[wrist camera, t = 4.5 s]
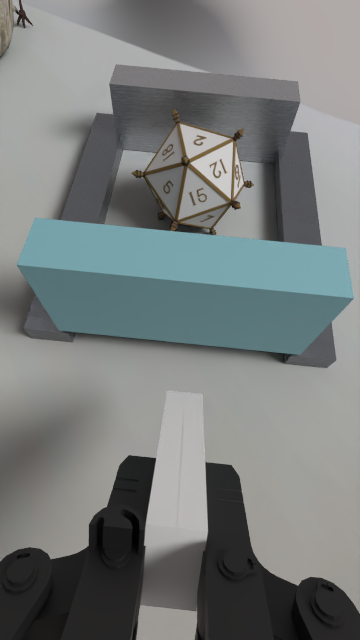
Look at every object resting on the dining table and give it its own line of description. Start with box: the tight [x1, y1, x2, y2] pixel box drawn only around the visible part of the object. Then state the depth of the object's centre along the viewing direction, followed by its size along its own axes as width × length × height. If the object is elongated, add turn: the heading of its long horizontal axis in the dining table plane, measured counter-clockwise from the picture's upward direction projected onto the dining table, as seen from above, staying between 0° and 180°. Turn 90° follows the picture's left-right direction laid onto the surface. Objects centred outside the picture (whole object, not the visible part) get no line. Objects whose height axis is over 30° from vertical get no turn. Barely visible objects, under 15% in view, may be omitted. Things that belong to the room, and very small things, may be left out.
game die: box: [132, 109, 254, 235], centre depth 27 cm, size 9×8×10 cm
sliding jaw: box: [17, 218, 354, 355], centre depth 20 cm, size 16×3×7 cm, turn 85°
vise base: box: [23, 65, 336, 368], centre depth 27 cm, size 21×24×6 cm
